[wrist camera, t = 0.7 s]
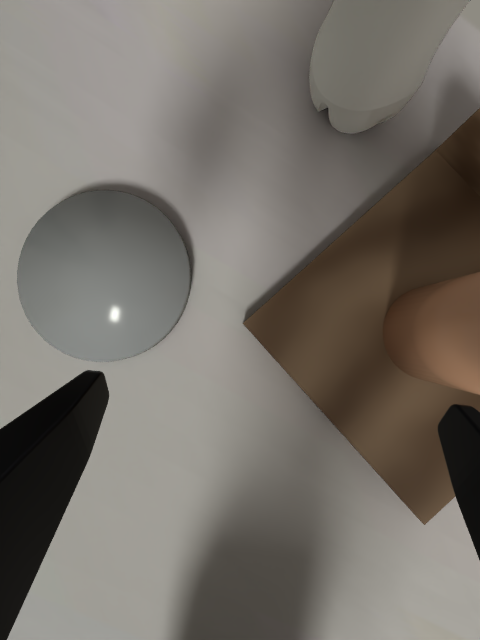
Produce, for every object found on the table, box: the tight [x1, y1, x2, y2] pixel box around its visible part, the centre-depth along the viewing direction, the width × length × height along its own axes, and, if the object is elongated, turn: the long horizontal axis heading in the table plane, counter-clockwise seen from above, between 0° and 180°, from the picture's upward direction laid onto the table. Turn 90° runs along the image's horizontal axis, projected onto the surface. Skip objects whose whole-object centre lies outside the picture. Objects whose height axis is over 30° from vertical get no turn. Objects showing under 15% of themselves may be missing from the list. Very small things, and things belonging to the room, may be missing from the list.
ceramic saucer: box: [17, 190, 191, 362], centre depth 22 cm, size 12×12×1 cm
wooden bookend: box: [243, 108, 480, 525], centre depth 19 cm, size 18×19×6 cm
